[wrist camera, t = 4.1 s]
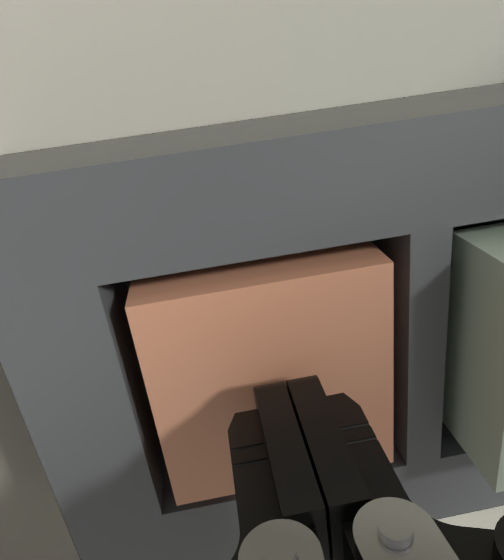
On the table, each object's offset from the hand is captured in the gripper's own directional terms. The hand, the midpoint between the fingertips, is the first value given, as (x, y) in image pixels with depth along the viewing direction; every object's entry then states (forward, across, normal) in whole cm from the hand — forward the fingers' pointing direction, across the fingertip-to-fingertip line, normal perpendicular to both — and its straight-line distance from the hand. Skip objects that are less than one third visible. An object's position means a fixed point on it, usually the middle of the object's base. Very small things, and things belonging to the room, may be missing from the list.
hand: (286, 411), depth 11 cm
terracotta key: (+3, 0, 0) cm, 3 cm away
